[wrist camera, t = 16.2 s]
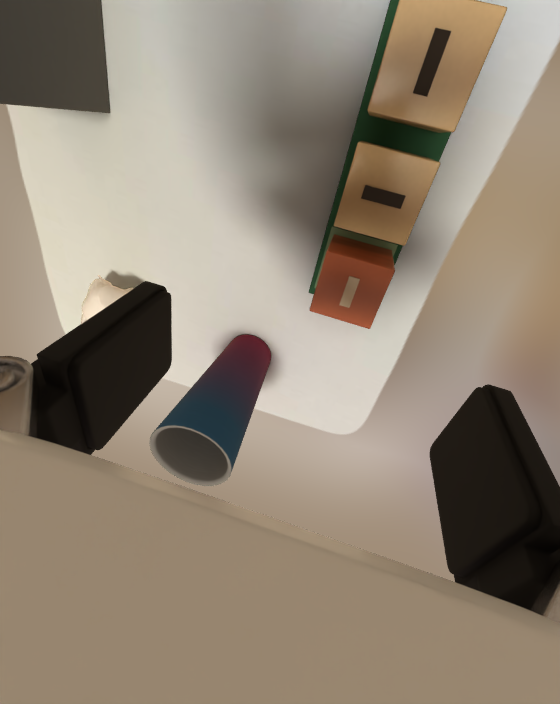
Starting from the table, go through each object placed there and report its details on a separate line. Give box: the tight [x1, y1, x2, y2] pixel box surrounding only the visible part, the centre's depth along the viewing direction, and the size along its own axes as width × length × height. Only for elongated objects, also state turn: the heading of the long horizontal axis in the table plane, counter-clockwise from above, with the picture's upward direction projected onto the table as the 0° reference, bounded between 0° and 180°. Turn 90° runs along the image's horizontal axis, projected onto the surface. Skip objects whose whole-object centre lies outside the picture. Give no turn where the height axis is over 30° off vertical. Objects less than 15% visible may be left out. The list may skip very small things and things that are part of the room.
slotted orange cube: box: [310, 234, 395, 329], centre depth 27 cm, size 5×5×5 cm
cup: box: [150, 335, 271, 486], centre depth 31 cm, size 7×7×15 cm
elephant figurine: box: [81, 275, 134, 324], centre depth 35 cm, size 7×8×6 cm
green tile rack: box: [309, 0, 507, 294], centre depth 23 cm, size 20×6×6 cm, turn 168°
